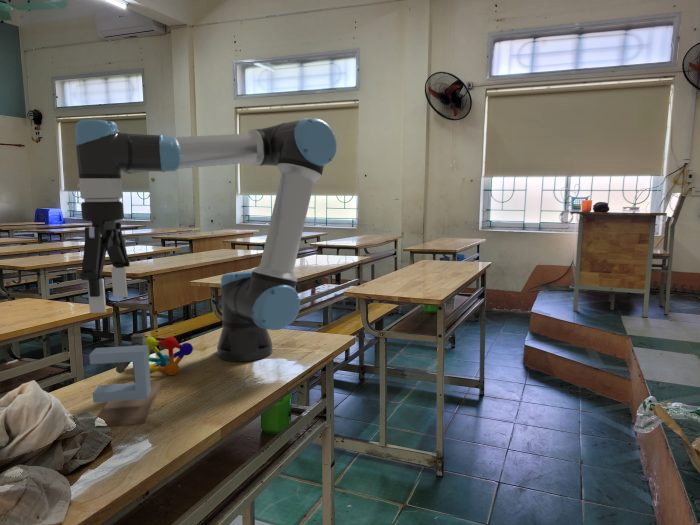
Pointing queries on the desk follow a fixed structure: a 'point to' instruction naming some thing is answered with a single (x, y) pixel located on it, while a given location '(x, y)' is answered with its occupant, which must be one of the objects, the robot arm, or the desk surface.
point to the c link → (130, 389)
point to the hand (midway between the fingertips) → (110, 304)
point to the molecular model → (165, 360)
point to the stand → (130, 409)
